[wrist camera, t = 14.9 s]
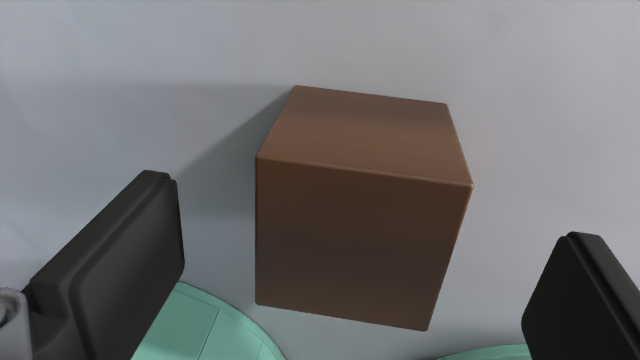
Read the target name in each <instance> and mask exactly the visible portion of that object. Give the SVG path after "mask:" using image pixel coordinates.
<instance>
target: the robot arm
mask: <svg viewBox="0 0 640 360" xmlns="http://www.w3.org/2000/svg"><path fill="white" fill-rule="evenodd" d="M184 265H185V259H184V249H183V239H182V229H181V219H180V209H179V200H178V190H177V183H176V181H175V180H173V179H171V177H170V175H169V174H168V173H164V172H157V171H150V170H144V171H142V172H141V173H140V174H139V175H138V176H137V177H136V178H135V179H134V180H133V181H132V182H130V183H129V184H128V185H127V186H126V187H125V188H124V189H123V190H122V191H121V192H120V193H119V194H118V195H117V196H116V197H115V198H114V199H113V200H112V201H111V202H110V203H109V204H108V205H107V206H106V207H105V208H104V209H103V210H102V211H101V212H99V213H98V214H97V215H96V216H95V217H94V218H93V219H92V220H91V221H90V222H89V223H88V224H87V225H86V226H85V227H84V228H83V229H82V230H81V231H80V232H79V233H78V234H77V235H76V236H75V237H74V238H73V239H72V240H71V241H70V242H69V243H67V244H66V245H65V246H64V247H63V248H62V249H61V250H60V251H59V252H58V253H57V254H56V255H55V256H54V257H53V258H52V259H51V260H50V261H49V262H48V263H47V264H46V265H45V266H44V267H43V268H42V269H41V270H40V271H39V272H38V273H37V274H35V275H34V276H33V277H32V278H31V279H30V283H29V284H28V285H27V286H26V287H25V288H24V289H23V290H22V291H21V292H20V291H19V290H16V289H12V288H8V287H0V360H131V358H132V357H133V355H134V353H135V352H136V350H137V348H138V347H139V345H140V343H141V342H142V340H143V338H144V337H145V335H146V333H147V332H148V330H149V328H150V327H151V325H152V323H153V322H154V320H155V319H156V317H157V315H158V314H159V312H160V310H161V309H162V307H163V305H164V304H165V302H166V300H167V299H168V297H169V295H170V294H171V292H172V290H173V289H174V287H175V285H176V284H177V282H178V280H179V279H180V277H181V275H182V273H183V270H184ZM521 326H522V332H523V335H524V337H525V340H526V343H527V346H528V349H529V352H530V355H531V358H532V360H640V291H639V290H638V288H637V287H636V285H635V284H634V282H633V281H632V280H631V278H630V277H629V275H628V274H627V273H626V271H625V270H624V268H623V267H622V266H621V264H620V263H619V261H618V260H617V259H616V257H615V256H614V254H613V253H612V251H611V250H610V249H609V247H608V246H607V244H606V243H605V242H604V240H603V239H602V238H601V237H600V236H598V235H594V234H587V233H580V232H569V233H568V234H567V235H566V237H565V236H562V237H560V238H559V239H558V241H557V243H556V245H555V247H554V249H553V251H552V253H551V255H550V258H549V260H548V262H547V264H546V266H545V268H544V270H543V273H542V275H541V277H540V279H539V281H538V283H537V286H536V288H535V290H534V292H533V294H532V296H531V298H530V301H529V303H528V305H527V307H526V309H525V311H524V313H523V316H522V321H521Z"/></svg>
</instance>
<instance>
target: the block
mask: <svg viewBox="0 0 640 360" xmlns="http://www.w3.org/2000/svg"><path fill="white" fill-rule="evenodd" d="M473 187H474V185H473V181H472V178H471V175H470V172H469V169H468V166H467V163H466V160H465V157H464V154H463V151H462V148H461V145H460V142H459V139H458V136H457V133H456V130H455V127H454V124H453V121H452V118H451V115H450V112H449V109H448V106H447V104H444V103H436V102H428V101H420V100H412V99H404V98H396V97H388V96H380V95H372V94H363V93H355V92H347V91H339V90H331V89H323V88H315V87H307V86H299V85H296V86H294V87H293V89H292V91H291V93H290V94H289V96H288V98H287V100H286V102H285V103H284V105H283V107H282V109H281V111H280V112H279V114H278V116H277V118H276V120H275V121H274V123H273V125H272V127H271V129H270V130H269V132H268V134H267V136H266V138H265V139H264V141H263V143H262V145H261V147H260V148H259V150H258V152H257V154H256V156H255V303H256V304H257V305H262V306H268V307H274V308H280V309H287V310H293V311H299V312H305V313H311V314H318V315H324V316H330V317H336V318H342V319H349V320H355V321H361V322H367V323H373V324H380V325H386V326H392V327H398V328H404V329H411V330H417V331H423V332H424V331H427V329H428V326H429V323H430V320H431V317H432V314H433V311H434V308H435V305H436V302H437V299H438V295H439V292H440V289H441V286H442V283H443V280H444V277H445V274H446V271H447V268H448V264H449V261H450V258H451V255H452V252H453V249H454V246H455V243H456V240H457V237H458V233H459V230H460V227H461V224H462V221H463V218H464V215H465V212H466V209H467V206H468V202H469V199H470V196H471V193H472V190H473Z"/></svg>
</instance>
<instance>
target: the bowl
mask: <svg viewBox="0 0 640 360" xmlns="http://www.w3.org/2000/svg"><path fill="white" fill-rule="evenodd" d="M131 360H286V359H285V357H284V356H283V354H282V353H281V351H280V349H279V348H278V347H277V345H276V344H275V343H274V342H273V341H272V339H271V338H270V337H269V336H268V335H267V334H266V333H265V332H264V331H263V330H262V329H261V328H260V327H259V326H258V325H257V324H256V323H254V322H253V321H252V320H251V319H249V318H248V317H247V316H245V315H244V314H243V313H241V312H240V311H239V310H237V309H235V308H234V307H232V306H231V305H229V304H227V303H226V302H224V301H223V300H221V299H219V298H217V297H215V296H213V295H211V294H209V293H207V292H205V291H203V290H200V289H198V288H195V287H193V286H190V285H188V284H185V283H182V282H179V281H178V282H177V284H176V285H175V287H174V289H173V290H172V292H171V294H170V295H169V297H168V299H167V300H166V302H165V304H164V305H163V307H162V309H161V310H160V312H159V314H158V315H157V317H156V319H155V320H154V322H153V323H152V325H151V327H150V328H149V330H148V332H147V333H146V335H145V337H144V338H143V340H142V342H141V343H140V345H139V347H138V348H137V350H136V352H135V353H134V355H133V357H132V358H131Z"/></svg>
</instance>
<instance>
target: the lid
mask: <svg viewBox="0 0 640 360" xmlns="http://www.w3.org/2000/svg"><path fill="white" fill-rule="evenodd" d="M436 360H532V358H531V355H530V352H529V349H528V346H527V344H510V345H499V346H492V347H484V348H478V349H473V350H469V351H464V352H459V353H455V354H452V355H449V356H445V357H442V358H439V359H436Z"/></svg>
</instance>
